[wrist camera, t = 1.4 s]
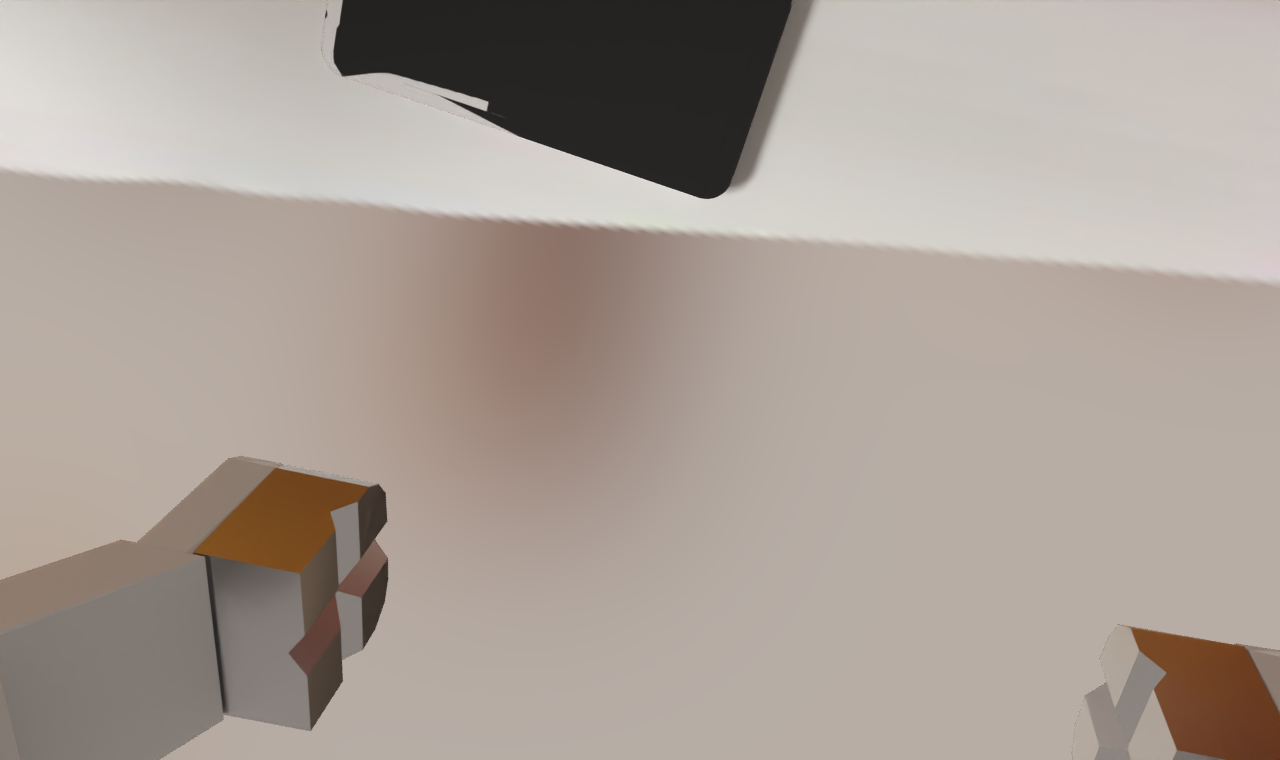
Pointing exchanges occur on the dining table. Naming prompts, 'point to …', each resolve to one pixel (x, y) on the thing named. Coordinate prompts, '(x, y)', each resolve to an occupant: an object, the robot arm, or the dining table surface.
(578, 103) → the smartphone
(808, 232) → the dining table surface
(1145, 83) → the dining table surface
